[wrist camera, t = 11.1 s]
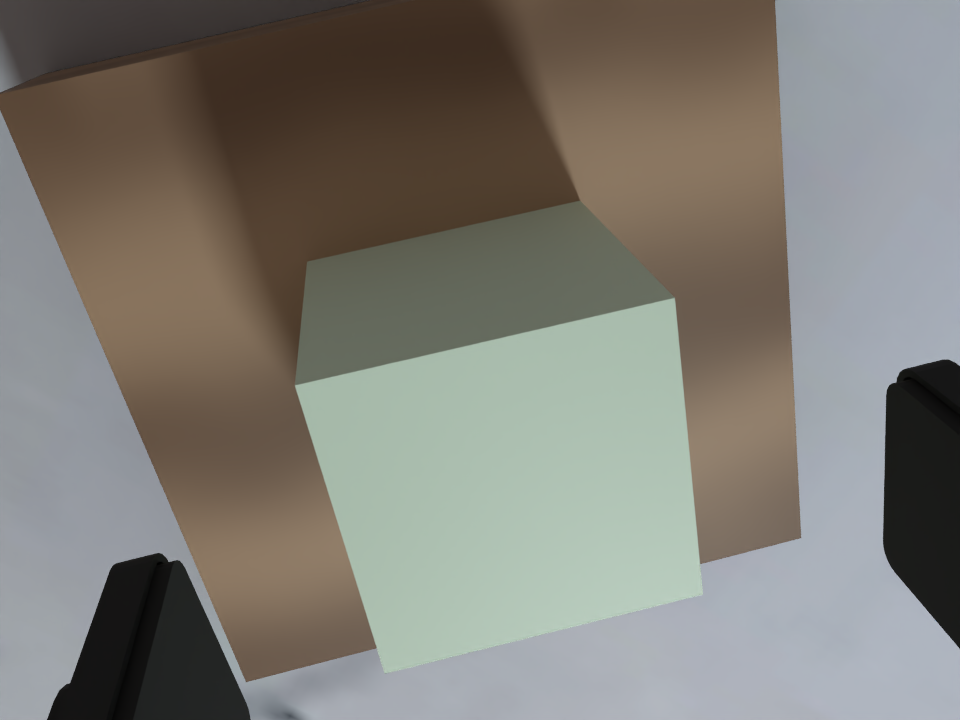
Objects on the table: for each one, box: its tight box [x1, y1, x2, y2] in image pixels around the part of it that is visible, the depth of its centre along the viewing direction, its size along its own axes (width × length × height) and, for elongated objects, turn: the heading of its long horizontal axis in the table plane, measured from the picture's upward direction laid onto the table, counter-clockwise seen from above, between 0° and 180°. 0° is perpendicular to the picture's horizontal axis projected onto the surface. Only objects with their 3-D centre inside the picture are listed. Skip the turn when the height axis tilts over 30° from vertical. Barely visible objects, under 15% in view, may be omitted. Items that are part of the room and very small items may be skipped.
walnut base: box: [0, 0, 801, 682], centre depth 20 cm, size 14×14×3 cm
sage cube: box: [295, 201, 703, 674], centre depth 16 cm, size 6×6×6 cm
